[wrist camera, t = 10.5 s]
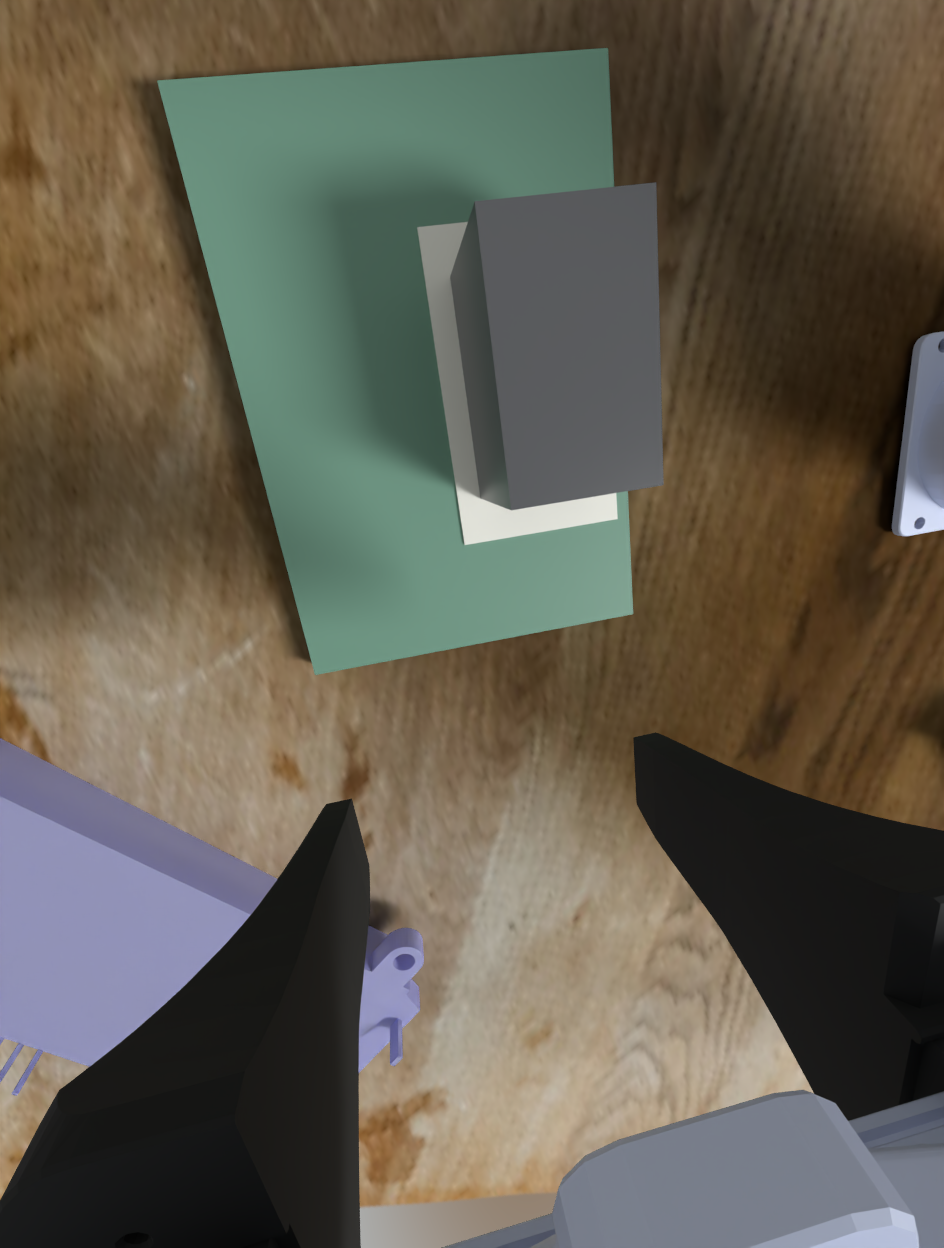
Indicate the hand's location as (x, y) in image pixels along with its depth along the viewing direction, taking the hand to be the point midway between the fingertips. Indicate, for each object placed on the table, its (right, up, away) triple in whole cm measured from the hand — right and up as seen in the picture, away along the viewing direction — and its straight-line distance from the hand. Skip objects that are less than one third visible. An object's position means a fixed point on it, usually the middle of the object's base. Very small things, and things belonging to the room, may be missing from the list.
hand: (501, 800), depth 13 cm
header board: (-2, +12, +6) cm, 14 cm away
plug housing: (+1, +13, +5) cm, 14 cm away
